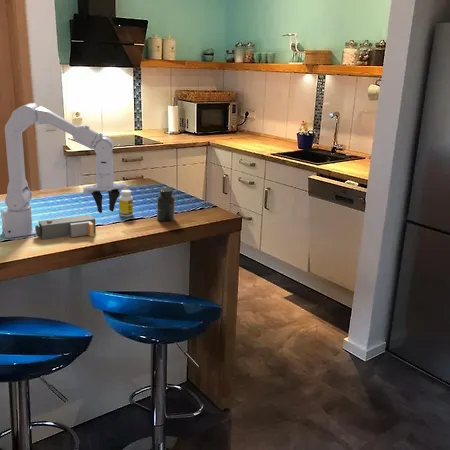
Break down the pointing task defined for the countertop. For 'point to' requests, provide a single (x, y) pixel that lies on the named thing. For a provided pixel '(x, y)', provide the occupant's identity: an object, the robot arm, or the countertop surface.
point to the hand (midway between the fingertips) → (105, 211)
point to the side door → (81, 229)
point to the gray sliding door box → (60, 226)
